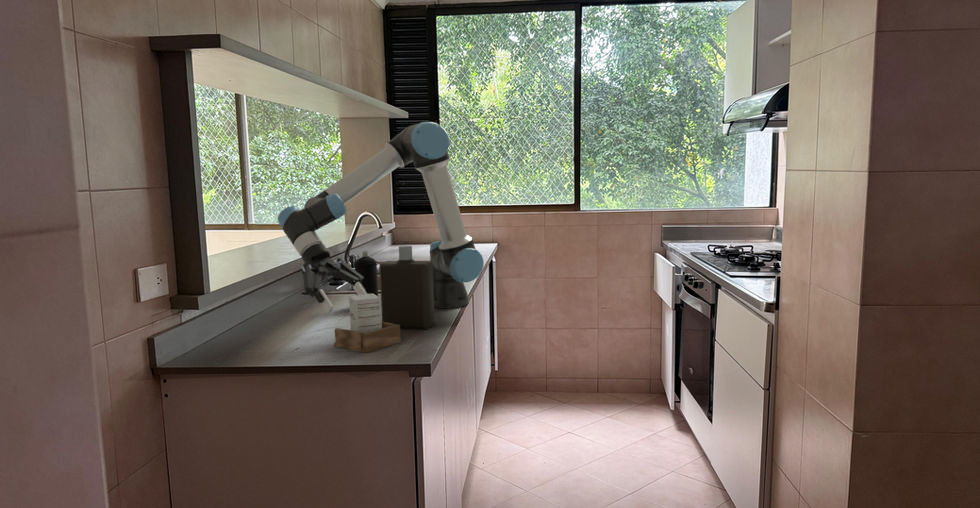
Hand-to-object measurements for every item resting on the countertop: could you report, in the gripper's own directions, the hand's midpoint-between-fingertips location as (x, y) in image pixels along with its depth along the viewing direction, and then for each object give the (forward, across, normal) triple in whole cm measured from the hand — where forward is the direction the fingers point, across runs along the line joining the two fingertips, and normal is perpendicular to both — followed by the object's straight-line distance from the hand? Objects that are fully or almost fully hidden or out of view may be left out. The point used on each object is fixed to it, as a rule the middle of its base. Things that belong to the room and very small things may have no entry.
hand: (349, 305), depth 185 cm
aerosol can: (-15, -36, -30) cm, 50 cm away
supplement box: (+11, 0, -2) cm, 12 cm away
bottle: (+9, -22, -6) cm, 24 cm away
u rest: (+12, 0, -2) cm, 12 cm away
